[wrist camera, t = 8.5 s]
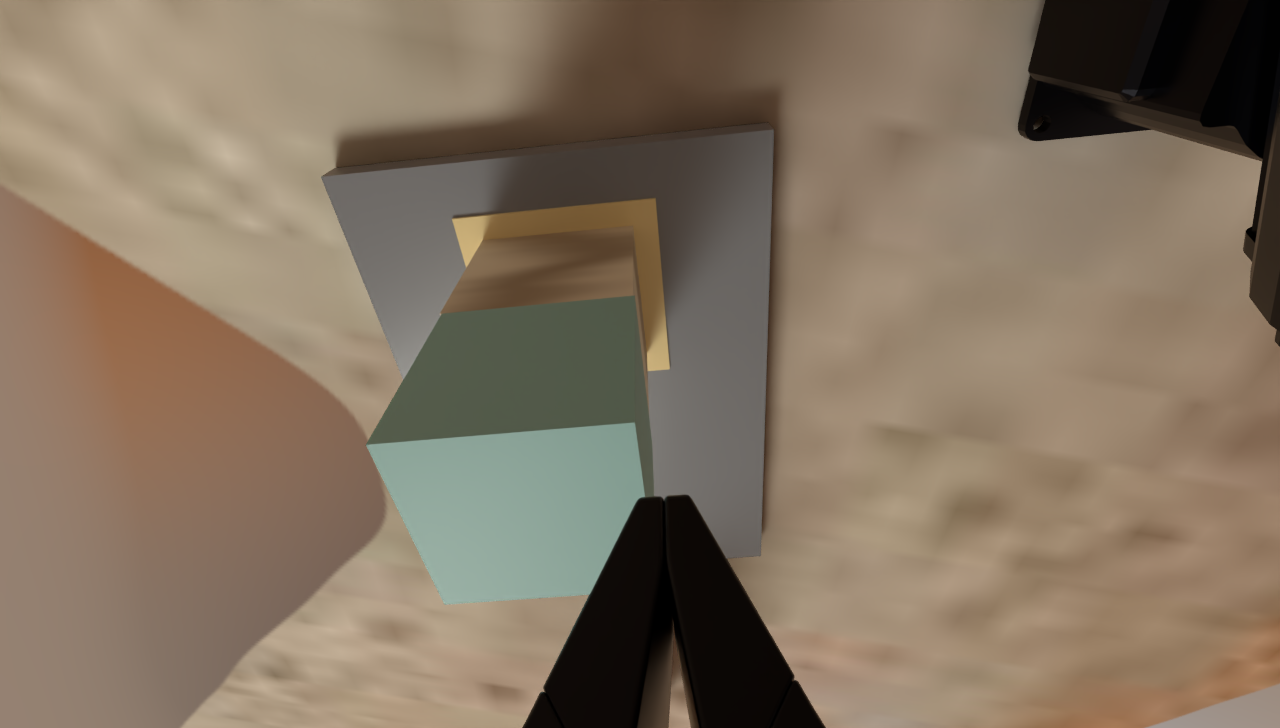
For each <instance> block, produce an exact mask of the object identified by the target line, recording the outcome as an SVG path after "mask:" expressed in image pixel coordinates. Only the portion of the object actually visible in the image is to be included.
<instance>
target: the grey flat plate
mask: <svg viewBox="0 0 1280 728" xmlns="http://www.w3.org/2000/svg"><path fill="white" fill-rule="evenodd" d="M773 146H774V129H773V128H772V127H771V126H770V125H769V124H768V123H758V124H749V125H739V126H730V127H720V128H711V129H701V130H692V131H682V132H673V133H663V134H654V135H644V136H635V137H625V138H616V139H606V140H597V141H587V142H578V143H568V144H559V145H549V146H540V147H530V148H521V149H511V150H502V151H492V152H483V153H473V154H464V155H454V156H445V157H435V158H426V159H416V160H407V161H397V162H388V163H378V164H369V165H359V166H350V167H340V168H334V169H333V170H331V171H329V172H328V173H326V174H325V175H323V176H322V177H321V178H322V181H323V183H324V186H325V188H326V191H327V193H328V195H329V198H330V200H331V203H332V205H333V208H334V210H335V213H336V215H337V218H338V220H339V223H340V225H341V228H342V230H343V232H344V235H345V237H346V240H347V242H348V245H349V247H350V250H351V252H352V255H353V257H354V260H355V262H356V265H357V267H358V269H359V272H360V274H361V277H362V279H363V282H364V284H365V287H366V289H367V292H368V294H369V297H370V299H371V302H372V304H373V306H374V309H375V311H376V314H377V316H378V319H379V321H380V324H381V326H382V329H383V331H384V334H385V336H386V339H387V341H388V343H389V346H390V348H391V351H392V353H393V356H394V358H395V361H396V363H397V366H398V368H399V371H400V373H401V376H402V378H403V380H404V378H405V376H406V375H407V373H408V371H409V369H410V368H411V366H412V364H413V362H414V361H415V359H416V357H417V356H418V354H419V352H420V350H421V349H422V347H423V345H424V343H425V342H426V340H427V338H428V336H429V335H430V333H431V331H432V330H433V328H434V326H435V324H436V323H437V321H438V319H439V317H440V312H441V311H442V309H443V307H444V305H445V304H446V302H447V300H448V299H449V297H450V295H451V293H452V292H453V290H454V288H455V287H456V285H457V283H458V281H459V280H460V278H461V276H462V275H463V273H464V271H465V269H466V268H467V266H468V264H469V263H470V261H471V259H472V257H473V256H474V254H475V252H476V251H477V249H478V247H479V245H480V244H481V242H482V240H490V239H500V238H510V237H520V236H531V235H541V234H551V233H561V232H572V231H582V230H592V229H602V228H613V227H623V226H633V229H634V238H635V247H636V256H637V265H638V275H639V284H640V293H641V302H642V311H643V321H644V330H645V339H646V348H647V366H648V395H649V420H650V429H651V437H652V450H653V476H654V496H661V497H662V498H663V499H665V497H666V496H668V495H682V494H687V495H689V496H690V497H691V498H692V500H693V501H694V503H695V505H696V506H697V508H698V510H699V512H700V513H701V515H702V517H703V519H704V520H705V522H706V524H707V525H708V527H709V529H710V531H711V532H712V534H713V536H714V538H715V539H716V541H717V543H718V544H719V546H720V548H721V550H722V551H723V553H724V555H725V557H726V558H739V557H753V556H761V531H762V499H763V467H764V435H765V403H766V371H767V339H768V306H769V274H770V242H771V210H772V178H773Z"/></svg>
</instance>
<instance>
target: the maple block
mask: <svg viewBox="0 0 1280 728" xmlns="http://www.w3.org/2000/svg"><path fill="white" fill-rule="evenodd" d="M634 295H635V302H636V310H637V319H638V327H639V336H640V344H641V353H642V361H643V369H644V378H645V386H646V395H647V403H648V412H649V395H648V366H647V348H646V339H645V330H644V321H643V311H642V302H641V293H640V284H639V275H638V265H637V256H636V247H635V238H634V229H633V226H623V227H613V228H602V229H592V230H582V231H572V232H561V233H551V234H541V235H531V236H520V237H510V238H500V239H490V240H482V242H481V244H480V245H479V247H478V249H477V251H476V252H475V254H474V256H473V257H472V259H471V261H470V263H469V264H468V266H467V268H466V269H465V271H464V273H463V275H462V276H461V278H460V280H459V281H458V283H457V285H456V287H455V288H454V290H453V292H452V293H451V295H450V297H449V299H448V300H447V302H446V304H445V305H444V307H443V309H442V311H441V312H440V316H441V314H443V313H454V312H464V311H475V310H486V309H496V308H507V307H517V306H528V305H539V304H549V303H560V302H571V301H581V300H592V299H602V298H613V297H624V296H634Z"/></svg>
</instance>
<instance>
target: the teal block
mask: <svg viewBox="0 0 1280 728" xmlns="http://www.w3.org/2000/svg"><path fill="white" fill-rule="evenodd" d="M366 446H367V448H368V450H369V452H370V454H371V456H372V458H373V460H374V462H375V464H376V466H377V468H378V470H379V472H380V474H381V476H382V478H383V480H384V482H385V484H386V487H387V489H388V491H389V493H390V495H391V497H392V499H393V501H394V503H395V505H396V507H397V509H398V511H399V513H400V515H401V517H402V519H403V521H404V523H405V525H406V527H407V529H408V531H409V533H410V535H411V537H412V539H413V541H414V543H415V545H416V548H417V550H418V552H419V554H420V556H421V558H422V560H423V562H424V564H425V566H426V568H427V570H428V572H429V574H430V576H431V578H432V580H433V582H434V584H435V586H436V588H437V590H438V592H439V594H440V596H441V598H442V600H443V602H444V604H445V605H446V604H460V603H475V602H489V601H504V600H519V599H533V598H548V597H562V596H577V595H590V593H591V591H592V589H593V587H594V585H595V583H596V581H597V579H598V577H599V575H600V573H601V571H602V569H603V567H604V565H605V563H606V561H607V559H608V557H609V555H610V553H611V551H612V549H613V547H614V545H615V543H616V541H617V539H618V537H619V535H620V533H621V531H622V529H623V527H624V525H625V523H626V521H627V519H628V517H629V515H630V513H631V511H632V509H633V507H634V505H635V503H636V501H637V500H638V499H639V498H641V497H653V496H654V476H653V450H652V437H651V429H650V420H649V412H648V403H647V395H646V386H645V378H644V369H643V361H642V353H641V344H640V336H639V327H638V319H637V310H636V302H635V295H634V296H624V297H613V298H602V299H592V300H581V301H571V302H560V303H549V304H539V305H528V306H517V307H507V308H496V309H486V310H475V311H464V312H454V313H443V314H441V316H440V317H439V319H438V321H437V323H436V324H435V326H434V328H433V330H432V331H431V333H430V335H429V336H428V338H427V340H426V342H425V343H424V345H423V347H422V349H421V350H420V352H419V354H418V356H417V357H416V359H415V361H414V362H413V364H412V366H411V368H410V369H409V371H408V373H407V375H406V376H405V378H404V380H403V382H402V383H401V385H400V387H399V388H398V390H397V392H396V394H395V395H394V397H393V399H392V401H391V402H390V404H389V406H388V408H387V409H386V411H385V413H384V414H383V416H382V418H381V420H380V421H379V423H378V425H377V427H376V428H375V430H374V432H373V434H372V435H371V437H370V439H369V440H368V442H367V444H366Z"/></svg>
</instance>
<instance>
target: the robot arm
mask: <svg viewBox="0 0 1280 728" xmlns="http://www.w3.org/2000/svg"><path fill="white" fill-rule="evenodd" d="M1028 71H1029V73H1030V79H1029V83H1028V87H1027V91H1026V95H1025V99H1024V103H1023V106H1022V110H1021V114H1020V118H1019V122H1018V131H1019V133H1020V135H1021V136H1023V137H1024V138H1027V139H1029V140H1032V141H1044V140H1054V139H1064V138H1074V137H1083V136H1093V135H1103V134H1113V133H1123V132H1133V131H1143V130H1155V131H1159V132H1162V133H1166V134H1169V135H1173V136H1176V137H1180V138H1183V139H1187V140H1190V141H1193V142H1197V143H1200V144H1204V145H1207V146H1211V147H1214V148H1218V149H1221V150H1224V151H1228V152H1231V153H1235V154H1238V155H1242V156H1245V157H1249V158H1252V159H1256V160H1259V161H1262V167H1261V174H1260V180H1259V187H1258V193H1257V200H1256V206H1255V212H1254V219H1253V225H1252V227H1250V228H1248V229H1247V230H1246V233H1245V240H1244V247H1243V251H1244V253H1245V254H1246V255H1247V256H1248V258H1249V259H1250V260H1251V261H1252V266H1251V275H1250V294H1249V297H1250V299H1251V300H1252V301H1253V303H1254V304H1255V305H1256V307H1257V308H1258V309H1259V311H1260V312H1261V313H1262V315H1263V316H1264V317H1265V319H1266V320H1267V321H1268V323H1269V324H1270V325H1271V326H1273V327H1274V328H1275V329H1277V331H1276V336H1275V342H1276V343H1277V344H1278V345H1279V346H1280V0H1046V1H1045V5H1044V9H1043V13H1042V17H1041V21H1040V25H1039V29H1038V33H1037V37H1036V41H1035V45H1034V49H1033V53H1032V57H1031V61H1030V65H1029V69H1028ZM1041 116H1043V122H1042V124H1041V125H1040V126H1039V127H1038V128H1037V129H1034V123H1035V121H1036V120H1037V119H1038V118H1039V117H1041ZM673 624H674V632H675V639H676V645H677V652H678V657H679V663H680V669H681V674H682V680H683V685H684V691H685V697H686V702H687V708H688V714H689V719H690V725H691V728H826V727H825V726H824V724H823V723H822V721H821V719H820V718H819V716H818V714H817V713H816V711H815V710H814V708H813V706H812V705H811V703H810V701H809V699H808V698H807V696H806V694H805V693H804V691H803V689H802V687H801V686H800V684H799V682H798V681H796V680H794V674H793V672H792V671H791V669H790V667H789V665H788V664H787V662H786V660H785V659H784V657H783V655H782V653H781V652H780V650H779V648H778V646H777V645H776V643H775V641H774V640H773V638H772V636H771V634H770V633H769V631H768V629H767V627H766V626H765V624H764V622H763V621H762V619H761V617H760V615H759V614H758V612H757V610H756V608H755V607H754V605H753V603H752V601H751V600H750V598H749V596H748V595H747V593H746V591H745V589H744V588H743V586H742V584H741V582H740V581H739V579H738V577H737V576H736V574H735V572H734V570H733V569H732V567H731V565H730V563H729V562H728V560H727V558H726V557H725V555H724V553H723V551H722V550H721V548H720V546H719V544H718V543H717V541H716V539H715V538H714V536H713V534H712V532H711V531H710V529H709V527H708V525H707V524H706V522H705V520H704V519H703V517H702V515H701V513H700V512H699V510H698V508H697V506H696V505H695V503H694V501H693V500H692V498H691V497H690V496H689V495H687V494H682V495H668V496H666V497H665V499H663V498H662V497H661V496H653V497H641V498H639V499H638V500H637V501H636V503H635V505H634V507H633V509H632V511H631V513H630V515H629V517H628V519H627V521H626V523H625V525H624V527H623V529H622V531H621V533H620V535H619V537H618V539H617V541H616V543H615V545H614V547H613V549H612V551H611V553H610V555H609V557H608V559H607V561H606V563H605V565H604V567H603V569H602V571H601V573H600V575H599V577H598V579H597V581H596V583H595V585H594V587H593V589H592V591H591V593H590V595H589V597H588V599H587V601H586V603H585V605H584V607H583V609H582V611H581V613H580V615H579V617H578V619H577V621H576V623H575V625H574V627H573V629H572V631H571V633H570V635H569V637H568V639H567V641H566V643H565V645H564V647H563V649H562V651H561V653H560V655H559V657H558V659H557V661H556V663H555V665H554V667H553V669H552V671H551V673H550V675H549V677H548V679H547V681H546V683H545V685H544V687H543V689H544V692H541V693H540V694H539V696H538V698H537V700H536V702H535V704H534V706H533V708H532V710H531V712H530V714H529V716H528V718H527V720H526V722H525V724H524V726H523V727H522V728H668V727H669V710H670V693H671V676H672V660H673V636H674V632H673Z"/></svg>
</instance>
